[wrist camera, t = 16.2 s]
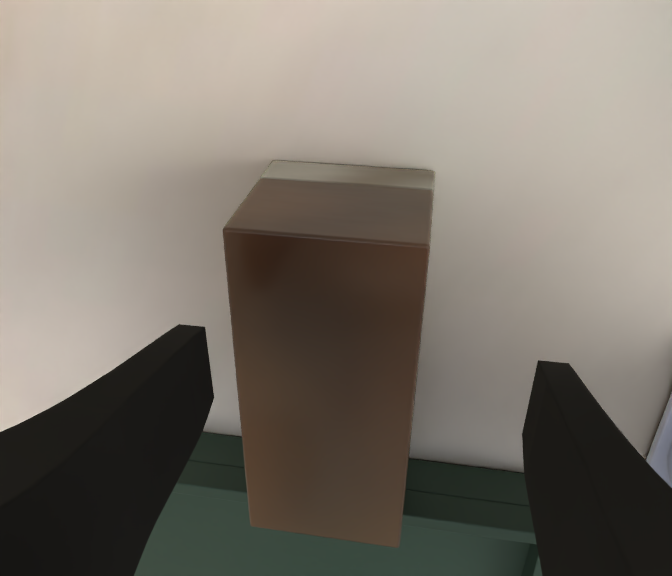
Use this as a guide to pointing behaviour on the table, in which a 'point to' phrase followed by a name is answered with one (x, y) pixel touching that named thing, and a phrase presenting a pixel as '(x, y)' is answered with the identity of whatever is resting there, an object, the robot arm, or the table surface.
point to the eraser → (329, 343)
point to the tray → (333, 554)
